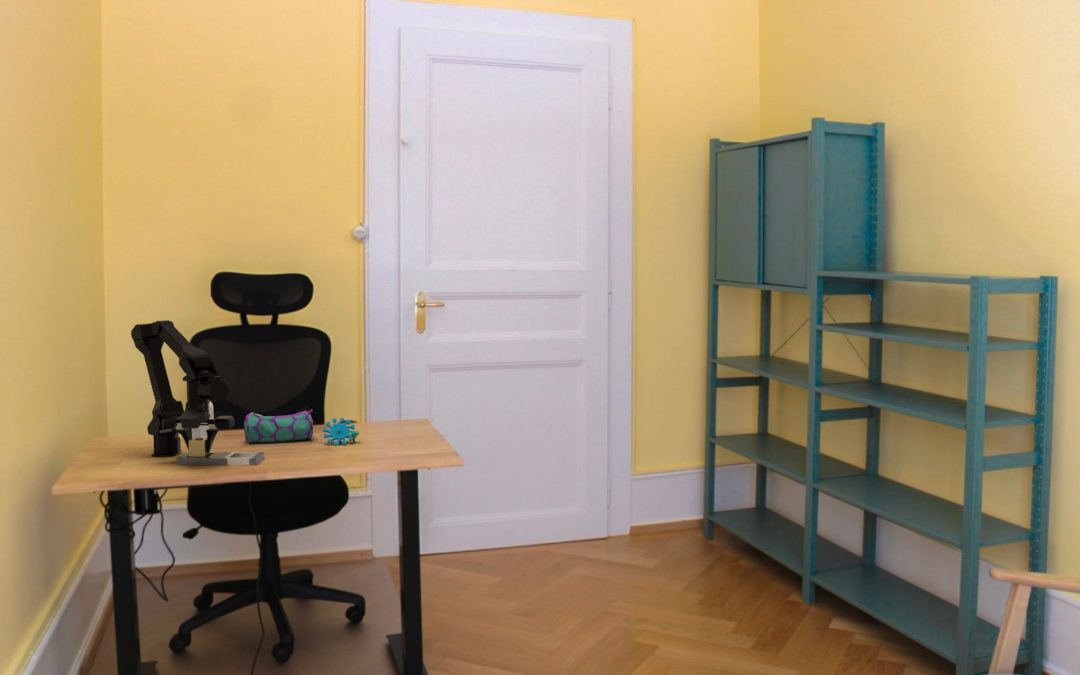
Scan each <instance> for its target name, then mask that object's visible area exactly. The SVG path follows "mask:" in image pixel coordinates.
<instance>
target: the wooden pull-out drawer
mask: <svg viewBox="0 0 1080 675" xmlns="http://www.w3.org/2000/svg"><path fill="white" fill-rule="evenodd" d="M188 452H189V458H207V457H209V456H210V452H211V451H210V452H209V453H207V438H193V439H191V440H189V450H188Z"/></svg>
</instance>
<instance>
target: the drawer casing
mask: <svg viewBox="0 0 1080 675" xmlns="http://www.w3.org/2000/svg"><path fill="white" fill-rule="evenodd" d="M264 459H265V452H263V451H262V452H261V451H255V452H253V451H252V452H251V451H249V452H248V451H247V452H246V451H245V452H241V451H240V452H239V451H238V452H237V451H230V452H227V451H225V452H223V451H220V452H217V451H214V452H211V451H210V456H209V457H207V458H189V451H188V452H187V451H186V452H185V453H184V454H182V455H180V456H178V457H176V465H177V466H216V465H217V466H219V465H221V466H223V465H224V466H227V465H228V466H235V465H236V466H246V465H248V466H249V465H250V466H255V465H256V466H257V465H258V464H260V462H262V461H263V460H264Z"/></svg>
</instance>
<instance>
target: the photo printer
mask: <svg viewBox="0 0 1080 675" xmlns="http://www.w3.org/2000/svg"><path fill="white" fill-rule="evenodd" d="M214 413H215V412H214V405H213V402H212V401H210V403H209V414H210V418H209V419H215V416H214ZM207 429H209V426H199V427H198V428H195V429H193V428H192V439H193V438H207V432H206V430H207Z"/></svg>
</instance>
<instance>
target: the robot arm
mask: <svg viewBox="0 0 1080 675" xmlns="http://www.w3.org/2000/svg"><path fill="white" fill-rule="evenodd" d="M130 335H131V336H130V337H131V339H132V341H133V344H134V347H135V348H136V349H137V350H138V352H140V353H141V354H142V355H143V359H144V361H145V366H146V369H147V372H148V378H149V381H150V382H149V383H150V386H151V389H152V393H153V397H154V401H155V402H154V405H153V408H152V412H151V414H152V418H151V420H150V422H149V424H148V425H147V428H146V430H147V433H148V435H150V436H153V452H152V453H151V456H152V457H174V456H176V455H178V454H179V453H181V452H182V447H181V444H182V443H181V438H182V439H183V441H184V442H185V443H184V444H185V446H186V449H187V450H188V451H189V440H191V439H192V428H193V429H195V428H198V427H199V426H209V429H207V430H206V432H207V453H209V452H211V449H212V447H213V443H214V442H215V438H216V436H217V434H218V432H219V431H221V430H228V429H231V428H232V427H235V425H236V423H235V418H234V416H233V415H220V416H218V417H216V418H214V419H209V418H210V414H209V403H210V402H211V401H214V402H222V401H223V400H225V399H226V398H227V396H228V394H229V387H228V384H227V383H226V382H225V381H223V380H222V376H220V375H219V372H218V371H219V370H218V369H217V367H216V366H215V364H214V362H213V359H212V357H211V356H210V354H209V353H208V352H206V351H205V350H204V349H202V348H199V347H196V346H194V345H192V343H191V342H190V341H188V339H187V338H186V337H185V336H184V335H183V334H182V333H181V332H180V330H178V328H176V327H175V323H174V322H173V321H171V320H169V319H166V320H155V321H153V322H151V323H137V324H135V325H134V326H133V328H132V329H131V331H130ZM164 344H166V345H167V347H168V348H169V349H170V350H171V351H172V352H173V353H174V354H175V355H176V356H177V358H178V365H179V367H180V368H181V370H182V371H183V373H185V375H184V376H183V378H182V382H186V402H185V407H184V406H183V405H184V404H183V402H182V400H177V399H175V397H174V396H173V392H172V388H171V383H170V379H169V377H168V372H167V368H166V364H165V361H164V357H163V353H162V349H163V347H164ZM184 408H185V409H184ZM179 435H180V436H181V437H180V436H179Z"/></svg>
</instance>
